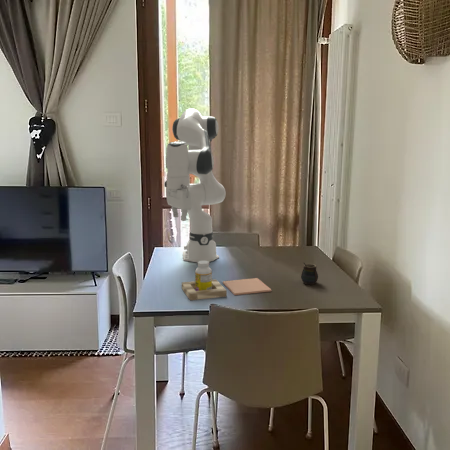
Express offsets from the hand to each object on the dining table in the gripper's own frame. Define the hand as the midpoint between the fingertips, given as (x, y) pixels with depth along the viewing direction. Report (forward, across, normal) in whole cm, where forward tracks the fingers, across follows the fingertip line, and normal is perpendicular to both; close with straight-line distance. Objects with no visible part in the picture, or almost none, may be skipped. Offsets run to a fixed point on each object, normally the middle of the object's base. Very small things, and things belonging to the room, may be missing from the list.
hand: (179, 218), depth 186 cm
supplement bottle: (+31, -2, -8) cm, 32 cm away
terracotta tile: (+31, -4, -27) cm, 42 cm away
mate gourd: (+32, -10, -55) cm, 64 cm away
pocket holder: (+31, -2, -8) cm, 32 cm away
